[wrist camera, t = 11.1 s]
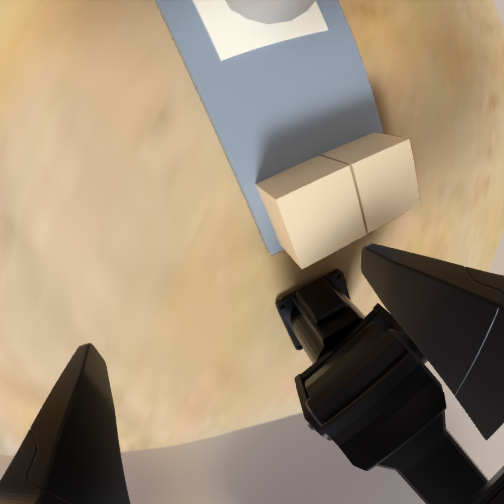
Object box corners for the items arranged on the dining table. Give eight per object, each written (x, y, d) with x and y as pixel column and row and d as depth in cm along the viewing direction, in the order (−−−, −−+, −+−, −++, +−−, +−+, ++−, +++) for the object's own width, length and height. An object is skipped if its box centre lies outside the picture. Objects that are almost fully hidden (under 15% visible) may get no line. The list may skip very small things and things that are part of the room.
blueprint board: (389, 187, 25) (428, 205, 20) (267, 250, 24) (291, 282, 20) (302, -53, 14) (333, -80, 10) (146, -18, 13) (143, -51, 9)
